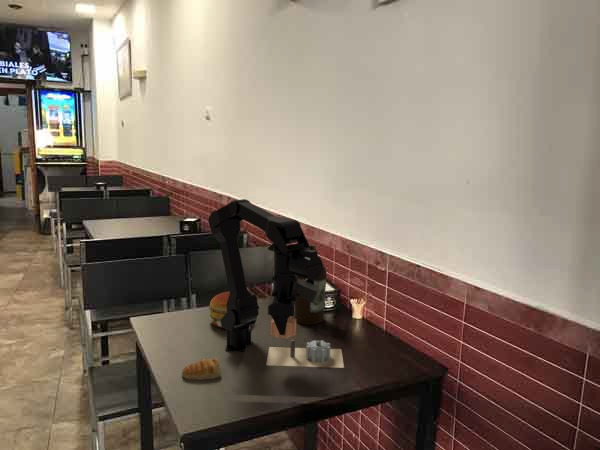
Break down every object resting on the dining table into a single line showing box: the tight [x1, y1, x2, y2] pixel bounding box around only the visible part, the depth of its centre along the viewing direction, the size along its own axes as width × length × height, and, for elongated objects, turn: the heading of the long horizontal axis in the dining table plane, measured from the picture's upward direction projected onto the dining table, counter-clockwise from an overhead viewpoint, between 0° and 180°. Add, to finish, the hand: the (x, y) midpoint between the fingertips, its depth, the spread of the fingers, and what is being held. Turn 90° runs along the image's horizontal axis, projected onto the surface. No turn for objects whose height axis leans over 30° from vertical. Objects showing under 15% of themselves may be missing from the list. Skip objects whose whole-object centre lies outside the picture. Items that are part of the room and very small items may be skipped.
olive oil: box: [293, 243, 328, 326], centre depth 161 cm, size 11×11×25 cm
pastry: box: [181, 357, 222, 381], centre depth 124 cm, size 9×7×4 cm
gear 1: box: [270, 316, 297, 340], centre depth 126 cm, size 6×6×4 cm
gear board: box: [266, 339, 345, 369], centre depth 133 cm, size 20×11×6 cm, turn 89°
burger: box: [208, 291, 230, 329], centre depth 157 cm, size 14×14×10 cm
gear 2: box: [305, 340, 331, 363], centre depth 133 cm, size 6×6×4 cm
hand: (283, 329), depth 127 cm, fingers closed on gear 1, 6 cm apart
